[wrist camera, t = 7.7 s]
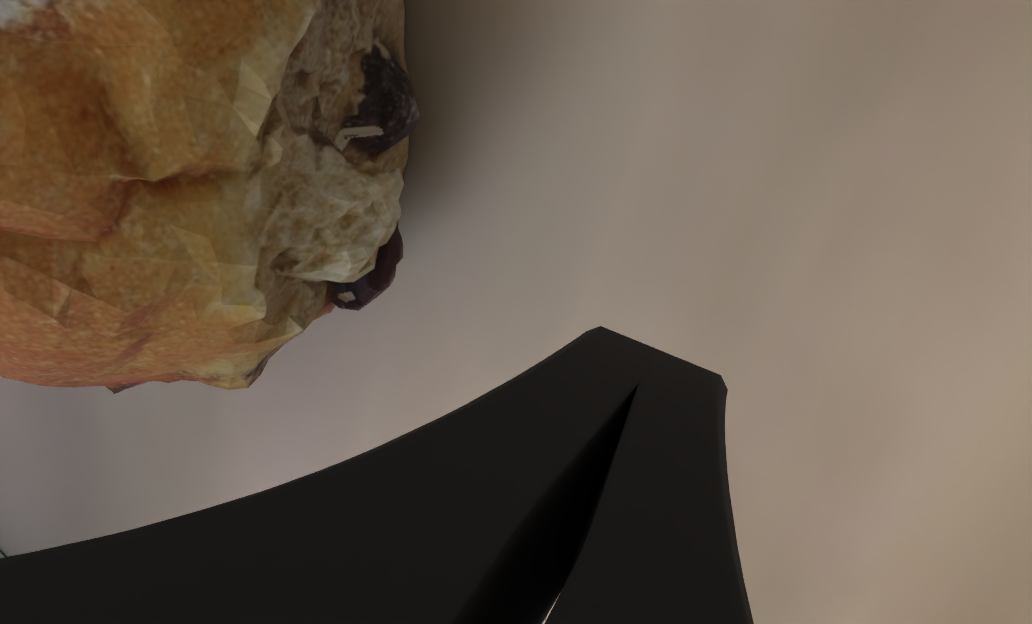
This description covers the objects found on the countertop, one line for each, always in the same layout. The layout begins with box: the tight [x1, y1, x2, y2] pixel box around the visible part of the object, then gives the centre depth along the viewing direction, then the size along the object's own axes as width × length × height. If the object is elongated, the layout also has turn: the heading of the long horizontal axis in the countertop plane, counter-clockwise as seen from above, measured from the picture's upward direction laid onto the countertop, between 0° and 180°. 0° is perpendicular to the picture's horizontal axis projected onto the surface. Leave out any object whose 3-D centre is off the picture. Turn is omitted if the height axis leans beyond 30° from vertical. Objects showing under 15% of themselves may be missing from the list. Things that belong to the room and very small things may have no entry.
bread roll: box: [0, 0, 420, 394], centre depth 12 cm, size 10×10×8 cm
